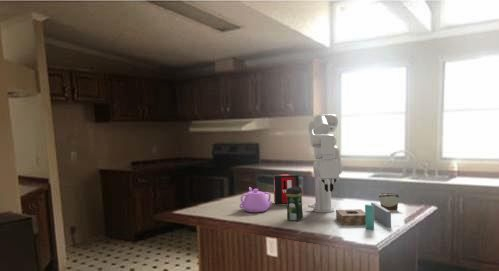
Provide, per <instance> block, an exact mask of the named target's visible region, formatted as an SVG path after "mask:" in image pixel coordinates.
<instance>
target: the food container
mask: <svg viewBox="0 0 499 271" xmlns="http://www.w3.org/2000/svg"><path fill="white" fill-rule="evenodd" d="M378 198H379V202H380V204H379V205H380V206H382V207H383V208H385V209H387V210H389V211H398V205H399V198H400V195H399V193H395V192H381V193H379V194H378Z"/></svg>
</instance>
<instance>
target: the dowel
mask: <svg viewBox="0 0 499 271" xmlns="http://www.w3.org/2000/svg"><path fill="white" fill-rule="evenodd" d="M364 212H365V222H366V225H365V229H366V230H368V231H372V230H375V218H374V206H373V205H371V203H369V204H365V205H364Z"/></svg>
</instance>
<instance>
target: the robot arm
mask: <svg viewBox="0 0 499 271" xmlns="http://www.w3.org/2000/svg"><path fill="white" fill-rule="evenodd" d="M338 123H339V120H338V117H337V115H336V114H332V113H330V114H329V113H328V114H327V113H326V114H323V113H322V114H317V115H316V116H315V117H314V119H313V120H311V121H310V122H308V124H307V125H308V133H309V143H310V145H311V147H312V148H313V153H314V155H313V156H314V158H315V160H316V161H314V162H313V164H312V169H313V176H314V190H315V191H314V192H315V193H314V194H315V196H314V197H315V202H314V203H313V204H311V203H310V204H309V203H308V204H307V207H308V208H309V209H310V208H311V209H313V210H312V211H314V212H315V213H319V214H321V213H322V214H323V213H325V214H327V213H328V214H329V213H333V212H334V211H335V209H334V208H333V207H332V192H333V190H334V184H335V183H336V181H339V180H341V177H340V175H341V174H342V173H343V164H342V158H341V153H340V149H339V147H338V146H337V137H336V136H335V135H334V134H332V133H334V132H335V131H336V129H337V127H338V125H339V124H338Z"/></svg>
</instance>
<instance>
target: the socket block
mask: <svg viewBox="0 0 499 271" xmlns="http://www.w3.org/2000/svg"><path fill="white" fill-rule="evenodd" d="M335 213H336V214H335V217H336V218H335V219H336V220H337V221H338V222H339V224H340V225H342V226H366V222H365V210H363V209H360V208H359V209H355V208H354V209H335Z"/></svg>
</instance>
